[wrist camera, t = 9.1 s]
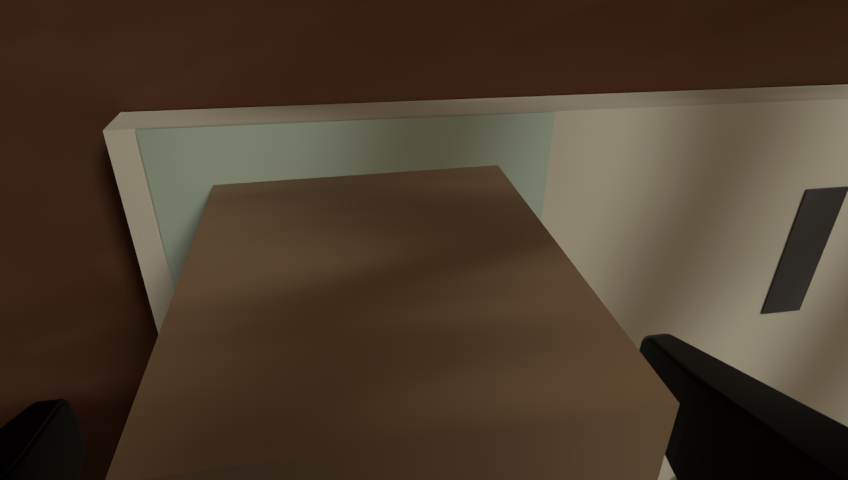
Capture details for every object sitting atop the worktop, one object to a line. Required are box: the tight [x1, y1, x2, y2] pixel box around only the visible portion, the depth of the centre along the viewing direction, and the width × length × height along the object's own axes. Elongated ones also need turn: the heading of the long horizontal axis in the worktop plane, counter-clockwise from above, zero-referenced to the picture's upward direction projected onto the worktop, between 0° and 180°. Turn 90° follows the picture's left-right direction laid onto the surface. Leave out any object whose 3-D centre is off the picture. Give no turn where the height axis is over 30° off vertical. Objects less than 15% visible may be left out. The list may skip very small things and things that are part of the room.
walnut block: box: [105, 165, 680, 480], centre depth 9 cm, size 5×5×6 cm
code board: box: [103, 85, 848, 480], centre depth 15 cm, size 20×16×1 cm
